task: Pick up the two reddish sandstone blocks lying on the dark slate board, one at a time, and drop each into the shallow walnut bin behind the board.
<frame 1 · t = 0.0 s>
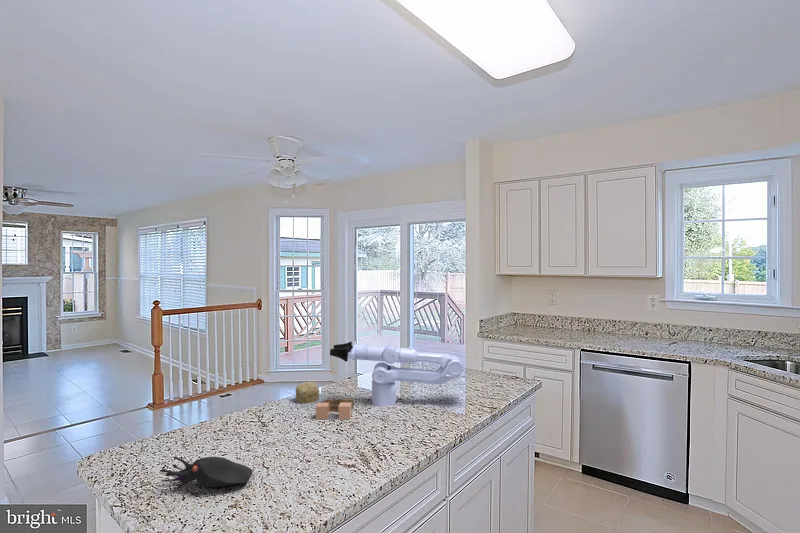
hand: (331, 349, 165), 22 cm above the worktop, tool horizontal, fingers open, 7 cm apart
stone b: (322, 417, 151), point 1 cm above the worktop, touching slate board
coral: (307, 402, 170), on the worktop
walnut bin: (338, 410, 160), on the worktop
toy: (208, 485, 108), on the worktop
slate board: (334, 419, 151), on the worktop
stone a: (345, 416, 151), point 1 cm above the worktop, touching slate board
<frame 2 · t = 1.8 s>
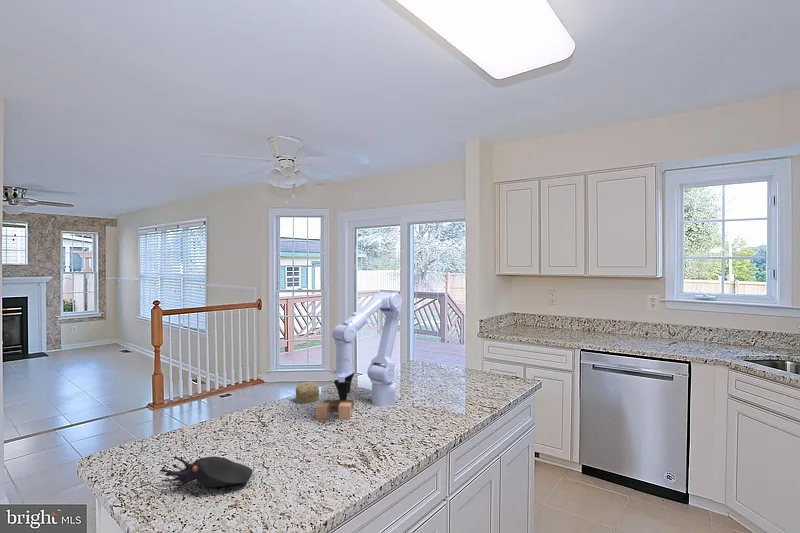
hand: (344, 396, 151), 8 cm above the worktop, tool pointing down, fingers open, 7 cm apart
nothing on the worktop moved.
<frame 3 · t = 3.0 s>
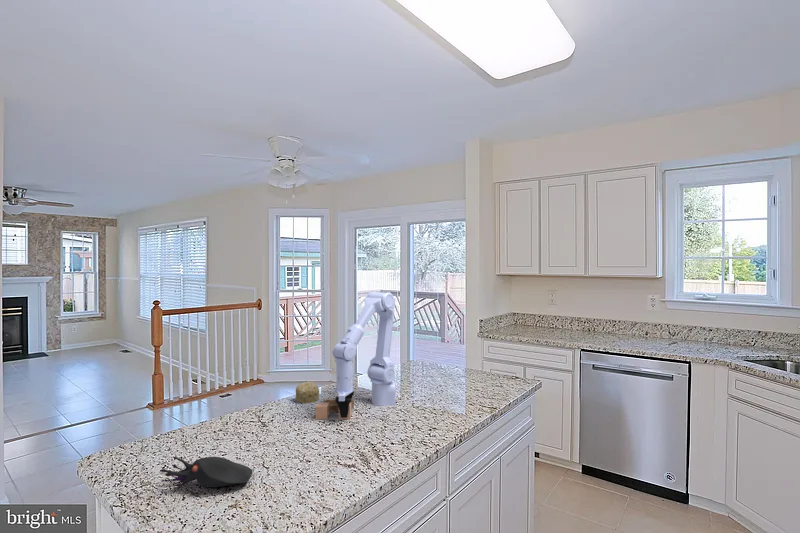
hand: (345, 414, 151), 2 cm above the worktop, tool pointing down, fingers closed on stone a, 4 cm apart
stone a: (345, 416, 151), point 1 cm above the worktop, touching gripper, slate board
everything else where it was.
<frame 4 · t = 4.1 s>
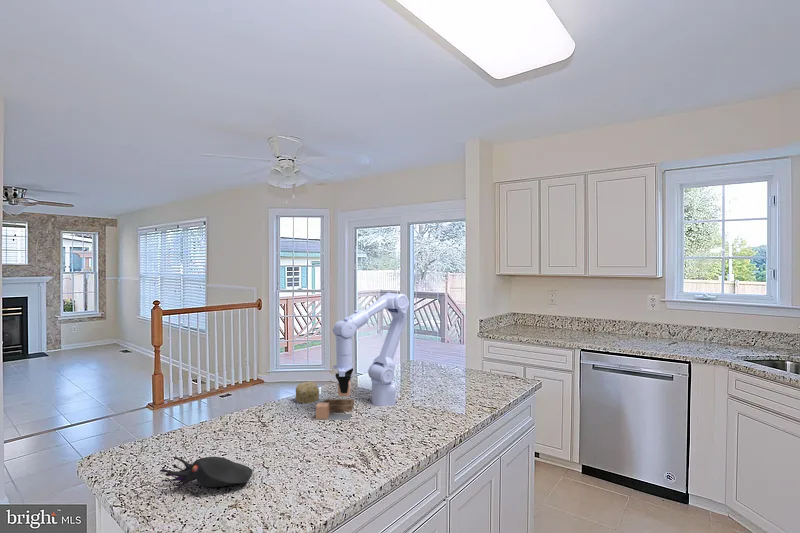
hand: (345, 390, 155), 9 cm above the worktop, tool pointing down, fingers closed on stone a, 4 cm apart
stone a: (344, 394, 155), point 7 cm above the worktop, touching gripper
everything else where it was.
when the fingers open (4 cm above the worktop, at t = 5.5 s): stone a drops 2 cm, resting on walnut bin.
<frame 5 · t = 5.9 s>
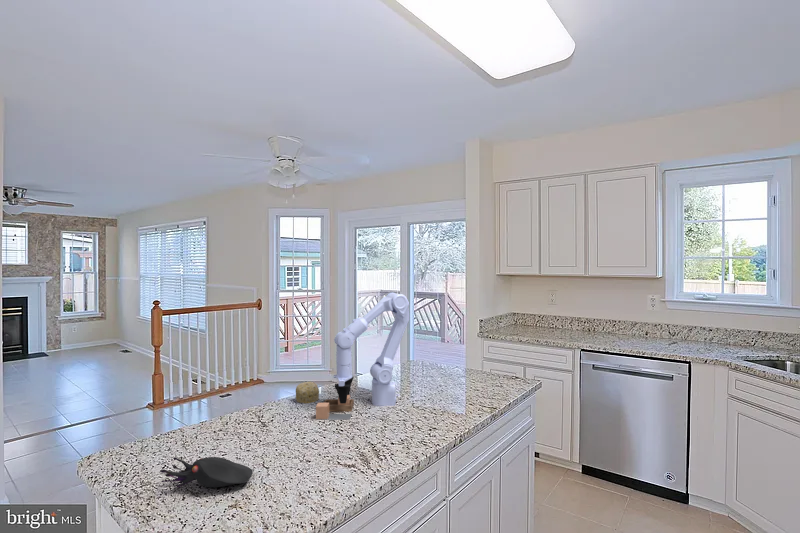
hand: (344, 399, 160), 4 cm above the worktop, tool pointing down, fingers open, 7 cm apart
stone a: (344, 408, 160), point 1 cm above the worktop, touching walnut bin
everything else where it was.
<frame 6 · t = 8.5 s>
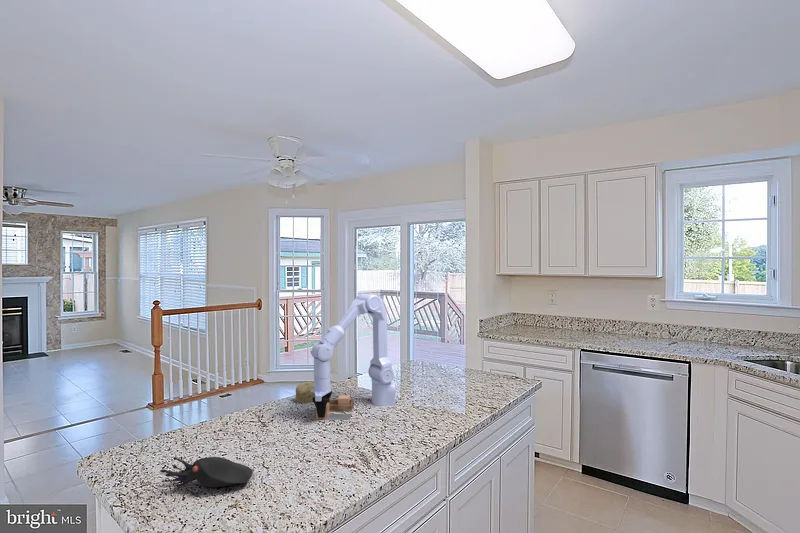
hand: (322, 414, 151), 2 cm above the worktop, tool pointing down, fingers closed on stone b, 4 cm apart
stone b: (322, 417, 151), point 1 cm above the worktop, touching gripper, slate board
everything else where it was.
when the fingers open (4 cm above the worktop, at t = 11.0 s): stone b drops 2 cm, resting on walnut bin.
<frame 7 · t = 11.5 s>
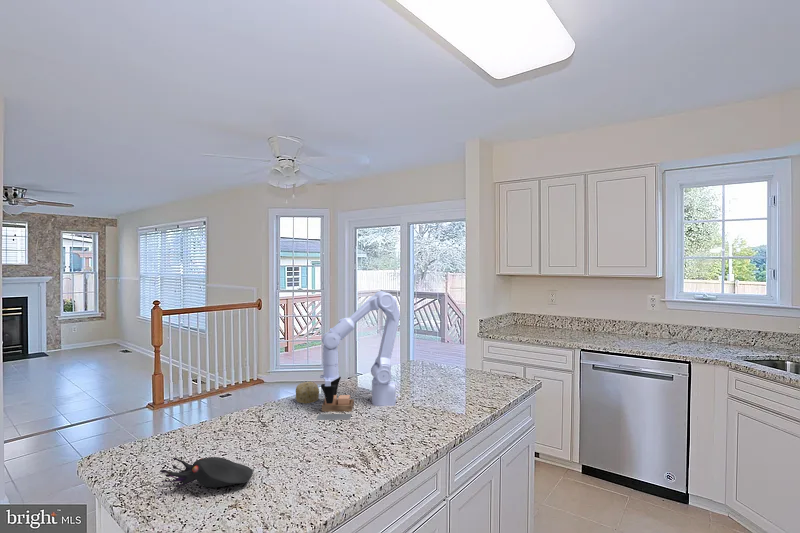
hand: (331, 399, 160), 4 cm above the worktop, tool pointing down, fingers open, 7 cm apart
stone b: (331, 408, 160), point 1 cm above the worktop, touching walnut bin
everything else where it was.
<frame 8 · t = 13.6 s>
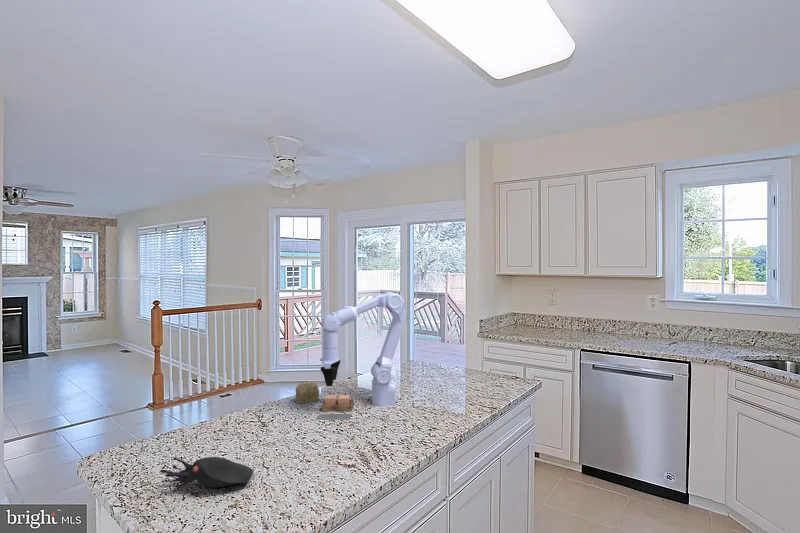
hand: (331, 382, 160), 10 cm above the worktop, tool pointing down, fingers open, 7 cm apart
nothing on the worktop moved.
at the end: stone a inside the target area on the walnut bin (2.3 cm from its centre), point 0.6 cm above the walnut bin's base; stone b inside the target area on the walnut bin (2.7 cm from its centre), point 0.6 cm above the walnut bin's base; the gripper is holding nothing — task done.
